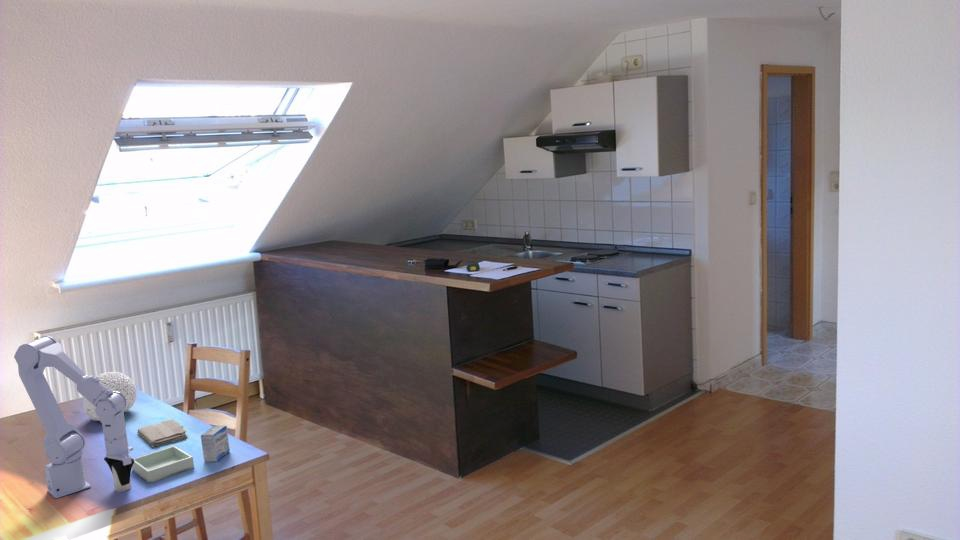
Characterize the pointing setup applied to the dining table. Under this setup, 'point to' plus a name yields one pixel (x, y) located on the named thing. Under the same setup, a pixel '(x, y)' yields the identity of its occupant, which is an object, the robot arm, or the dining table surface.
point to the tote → (162, 464)
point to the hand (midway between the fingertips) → (122, 482)
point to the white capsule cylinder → (117, 483)
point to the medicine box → (215, 443)
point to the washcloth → (163, 433)
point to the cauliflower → (114, 383)
